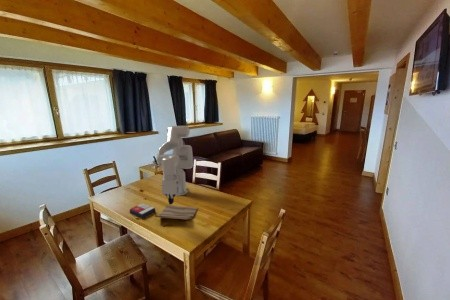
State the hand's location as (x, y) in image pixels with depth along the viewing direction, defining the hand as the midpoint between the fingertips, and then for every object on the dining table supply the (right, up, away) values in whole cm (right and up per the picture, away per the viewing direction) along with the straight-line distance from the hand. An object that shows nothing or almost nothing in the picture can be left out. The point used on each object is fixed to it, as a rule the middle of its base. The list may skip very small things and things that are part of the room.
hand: (171, 203), depth 137 cm
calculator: (-25, -11, +16) cm, 32 cm away
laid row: (+2, -11, +16) cm, 19 cm away
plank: (0, -11, +5) cm, 12 cm away
